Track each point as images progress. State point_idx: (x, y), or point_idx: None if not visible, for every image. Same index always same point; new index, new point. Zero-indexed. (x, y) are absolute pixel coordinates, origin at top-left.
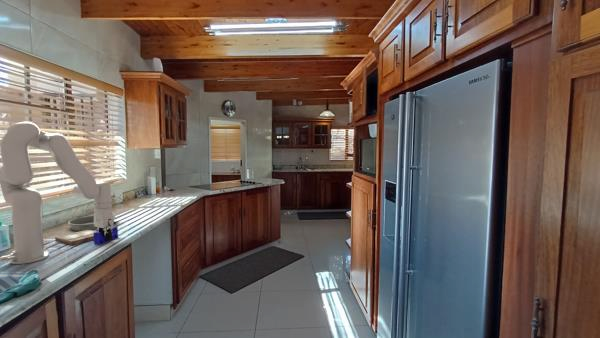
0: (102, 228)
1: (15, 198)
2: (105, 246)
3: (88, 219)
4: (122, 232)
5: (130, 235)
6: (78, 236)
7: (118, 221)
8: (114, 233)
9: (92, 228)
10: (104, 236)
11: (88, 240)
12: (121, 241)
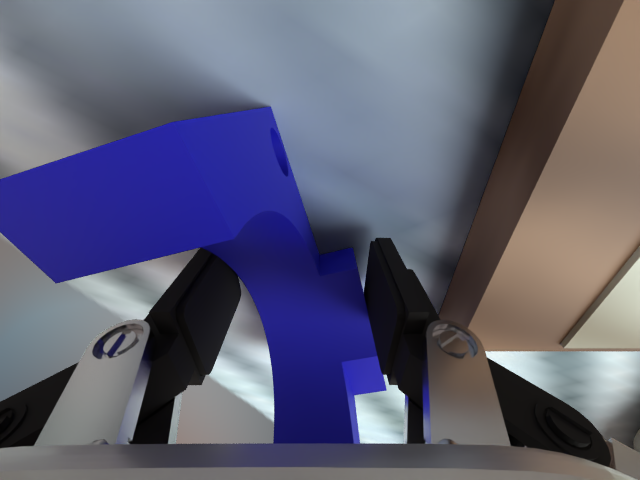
0: (422, 416)
1: None
2: (13, 125)
3: None
4: (397, 406)
5: (263, 395)
6: None
7: None
8: (277, 375)
9: None
10: (351, 299)
11: (503, 156)
12: (130, 305)
